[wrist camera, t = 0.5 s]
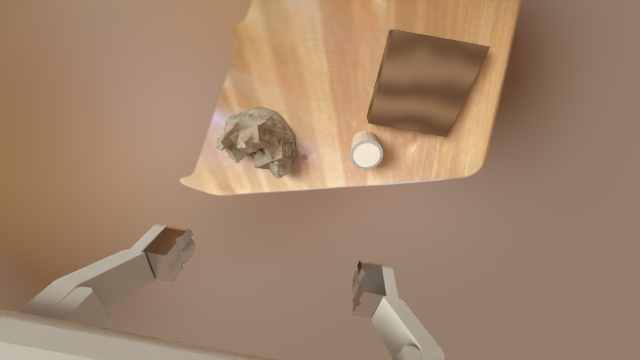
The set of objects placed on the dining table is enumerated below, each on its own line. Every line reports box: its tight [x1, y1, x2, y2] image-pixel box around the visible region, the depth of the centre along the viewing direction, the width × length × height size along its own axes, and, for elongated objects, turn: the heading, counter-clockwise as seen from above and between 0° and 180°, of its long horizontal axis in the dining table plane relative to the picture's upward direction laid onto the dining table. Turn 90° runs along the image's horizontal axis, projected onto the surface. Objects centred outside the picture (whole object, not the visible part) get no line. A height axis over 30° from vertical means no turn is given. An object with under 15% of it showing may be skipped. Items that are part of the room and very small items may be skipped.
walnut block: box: [367, 30, 490, 137], centre depth 44 cm, size 16×16×5 cm
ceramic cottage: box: [215, 107, 296, 178], centre depth 50 cm, size 16×16×15 cm
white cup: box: [350, 131, 383, 170], centre depth 51 cm, size 7×7×7 cm
